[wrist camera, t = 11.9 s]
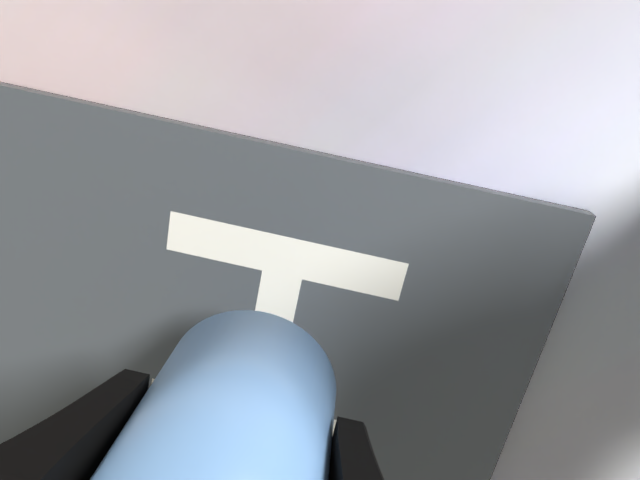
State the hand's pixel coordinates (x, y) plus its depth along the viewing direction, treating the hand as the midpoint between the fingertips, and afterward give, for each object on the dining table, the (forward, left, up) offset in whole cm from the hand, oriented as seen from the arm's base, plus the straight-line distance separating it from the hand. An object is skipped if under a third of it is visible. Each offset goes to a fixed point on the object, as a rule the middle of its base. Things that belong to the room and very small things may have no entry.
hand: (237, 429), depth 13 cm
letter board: (+1, +3, -5) cm, 6 cm away
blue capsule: (0, 0, -2) cm, 2 cm away
